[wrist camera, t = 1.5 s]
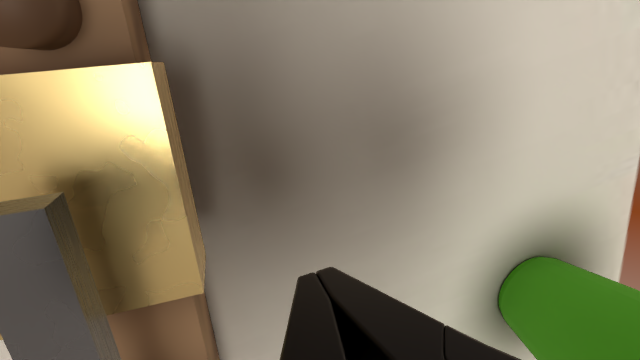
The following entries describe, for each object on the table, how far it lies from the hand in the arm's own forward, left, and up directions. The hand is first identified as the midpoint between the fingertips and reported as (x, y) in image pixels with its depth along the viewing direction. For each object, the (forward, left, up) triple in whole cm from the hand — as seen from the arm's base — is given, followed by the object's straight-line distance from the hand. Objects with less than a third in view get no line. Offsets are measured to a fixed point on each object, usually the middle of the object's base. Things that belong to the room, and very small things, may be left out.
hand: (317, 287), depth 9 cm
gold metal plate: (-2, -6, -6) cm, 9 cm away
